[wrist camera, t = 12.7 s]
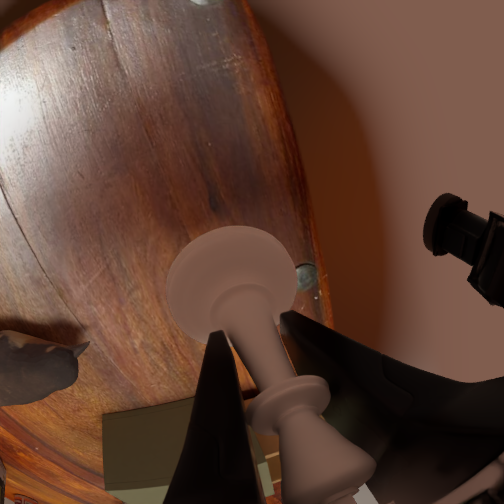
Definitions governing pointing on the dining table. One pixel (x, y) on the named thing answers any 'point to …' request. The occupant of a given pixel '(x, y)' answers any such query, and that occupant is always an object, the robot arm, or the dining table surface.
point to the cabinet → (152, 451)
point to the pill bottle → (24, 500)
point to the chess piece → (266, 356)
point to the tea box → (2, 482)
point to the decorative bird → (34, 367)
